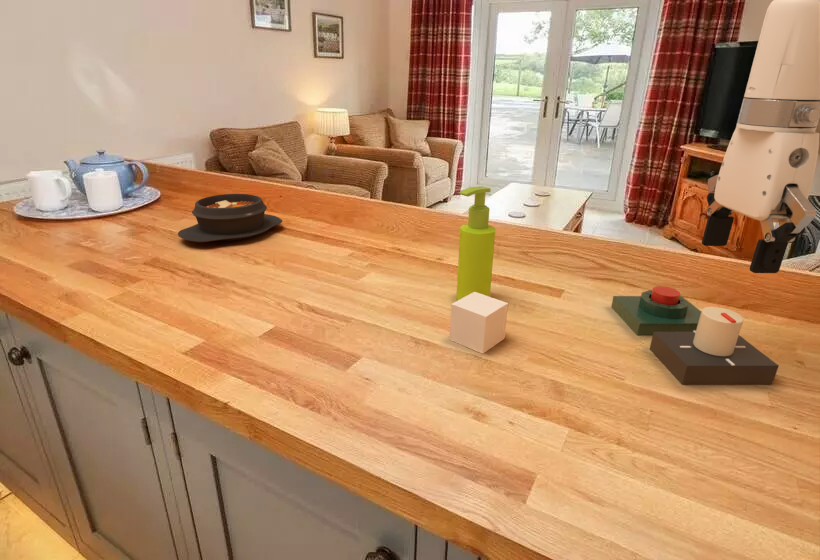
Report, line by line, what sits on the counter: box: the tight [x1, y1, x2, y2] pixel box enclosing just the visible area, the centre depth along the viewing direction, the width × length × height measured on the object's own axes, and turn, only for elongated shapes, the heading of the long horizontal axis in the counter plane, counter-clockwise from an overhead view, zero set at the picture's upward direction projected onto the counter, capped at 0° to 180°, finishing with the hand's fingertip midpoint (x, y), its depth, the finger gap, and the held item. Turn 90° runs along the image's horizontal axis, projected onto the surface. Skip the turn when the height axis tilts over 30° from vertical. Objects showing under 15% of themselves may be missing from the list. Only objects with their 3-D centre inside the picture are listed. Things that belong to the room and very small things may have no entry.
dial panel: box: [649, 331, 779, 386], centre depth 68 cm, size 12×9×3 cm
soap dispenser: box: [456, 186, 496, 301], centre depth 83 cm, size 6×7×20 cm
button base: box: [610, 289, 702, 337], centre depth 80 cm, size 12×10×4 cm
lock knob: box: [693, 306, 744, 356], centre depth 66 cm, size 5×5×5 cm
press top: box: [651, 285, 681, 305], centre depth 79 cm, size 4×4×2 cm
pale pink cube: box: [449, 292, 509, 355], centre depth 73 cm, size 6×6×6 cm
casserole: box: [177, 193, 283, 243], centre depth 118 cm, size 25×19×8 cm
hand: (736, 257), depth 62 cm, fingers open, 9 cm apart
